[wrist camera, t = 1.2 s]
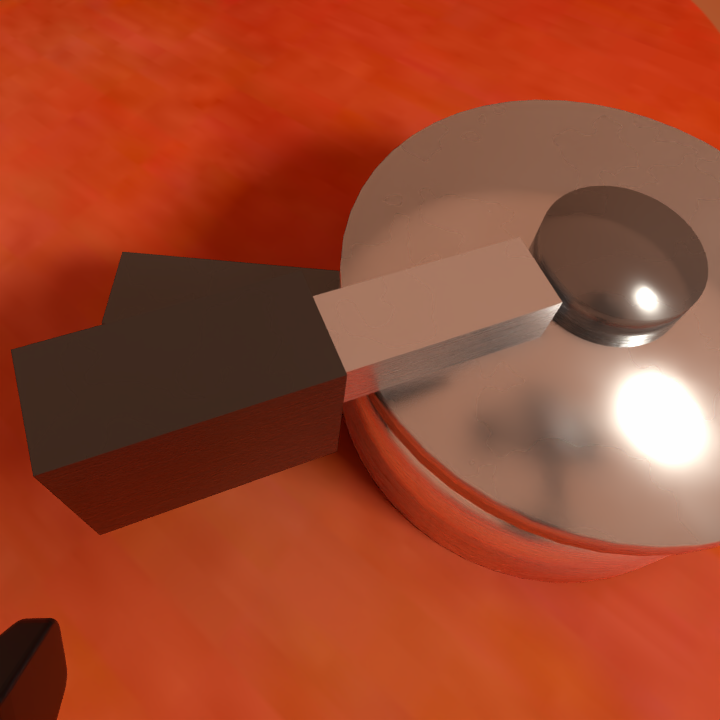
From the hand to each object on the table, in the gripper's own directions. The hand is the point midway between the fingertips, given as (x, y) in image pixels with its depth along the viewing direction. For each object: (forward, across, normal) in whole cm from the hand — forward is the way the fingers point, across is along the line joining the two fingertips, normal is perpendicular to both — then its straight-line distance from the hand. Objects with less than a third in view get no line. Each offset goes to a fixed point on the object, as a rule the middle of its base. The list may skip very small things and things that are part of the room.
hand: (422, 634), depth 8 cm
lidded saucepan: (+13, -4, +1) cm, 14 cm away
